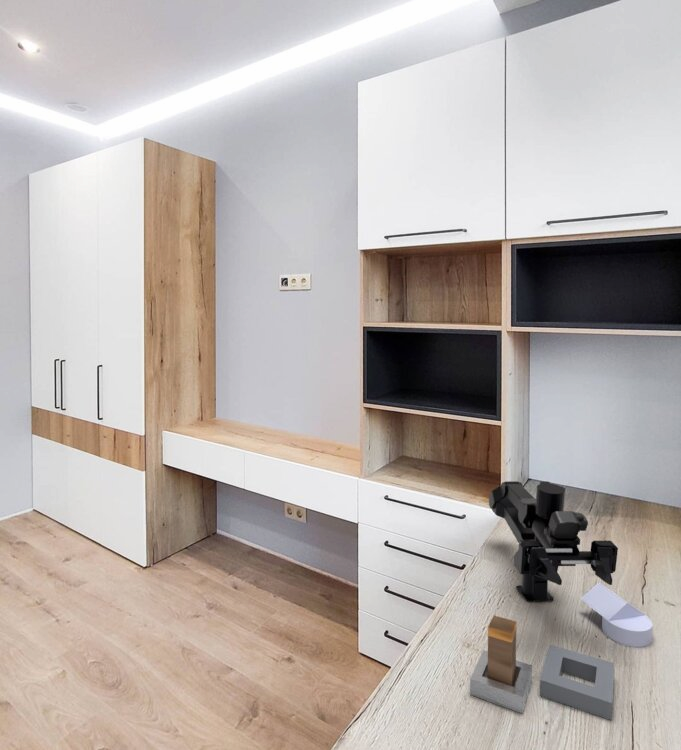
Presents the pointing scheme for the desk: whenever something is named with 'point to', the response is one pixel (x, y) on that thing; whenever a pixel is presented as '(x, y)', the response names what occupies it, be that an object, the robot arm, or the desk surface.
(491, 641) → the plug
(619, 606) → the wedge on round base
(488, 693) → the frame
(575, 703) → the socket
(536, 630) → the desk surface
